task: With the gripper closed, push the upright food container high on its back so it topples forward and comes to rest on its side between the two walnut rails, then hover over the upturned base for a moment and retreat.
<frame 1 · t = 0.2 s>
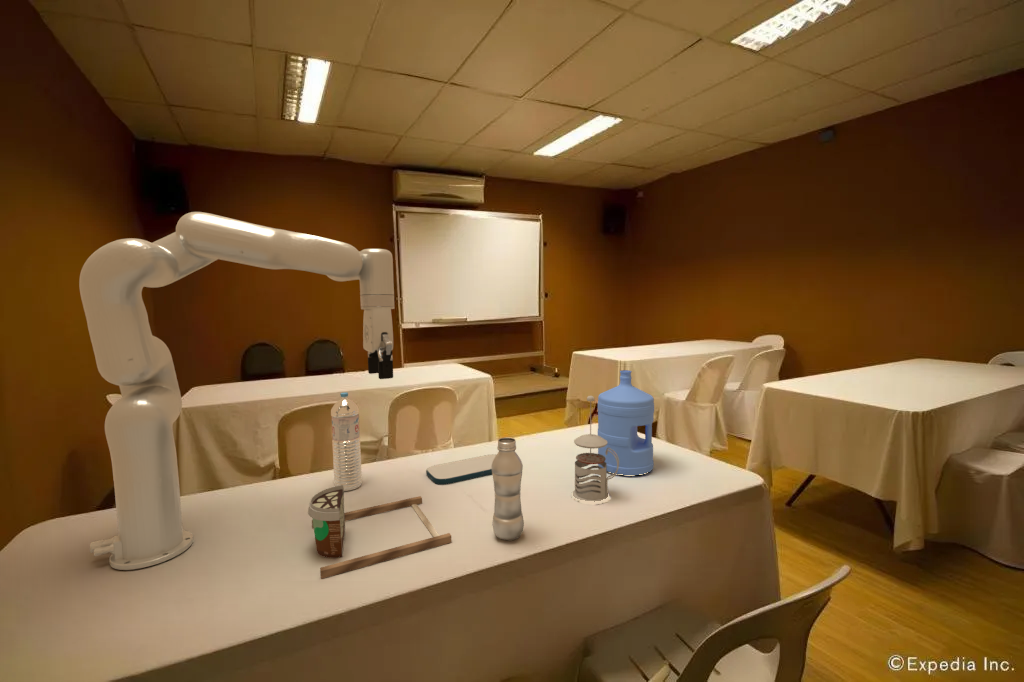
hand: (380, 375, 104), 31 cm above the table, tool pointing down, fingers open, 9 cm apart
wooden frame: (379, 533, 92), on the table
french press: (594, 497, 108), on the table
food container: (327, 548, 87), on the table
plastic bottle: (508, 536, 90), on the table
water bottle: (348, 487, 116), on the table
water jug: (625, 467, 127), on the table
external hard drive: (469, 473, 126), on the table
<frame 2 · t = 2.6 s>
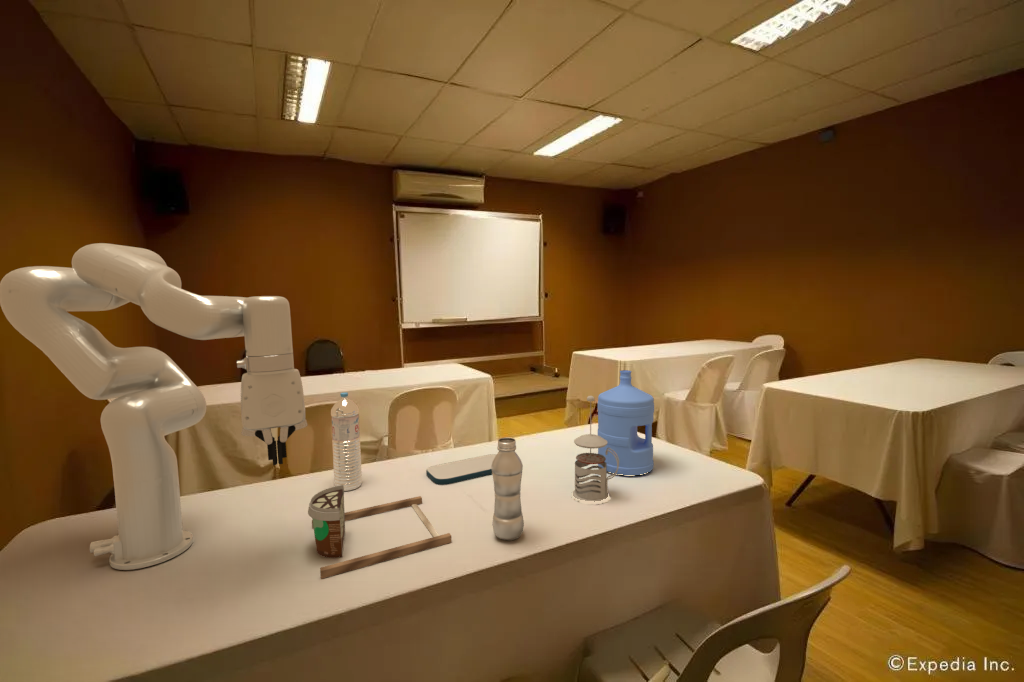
hand: (277, 462, 82), 19 cm above the table, tool pointing down, fingers closed
nothing on the table moved.
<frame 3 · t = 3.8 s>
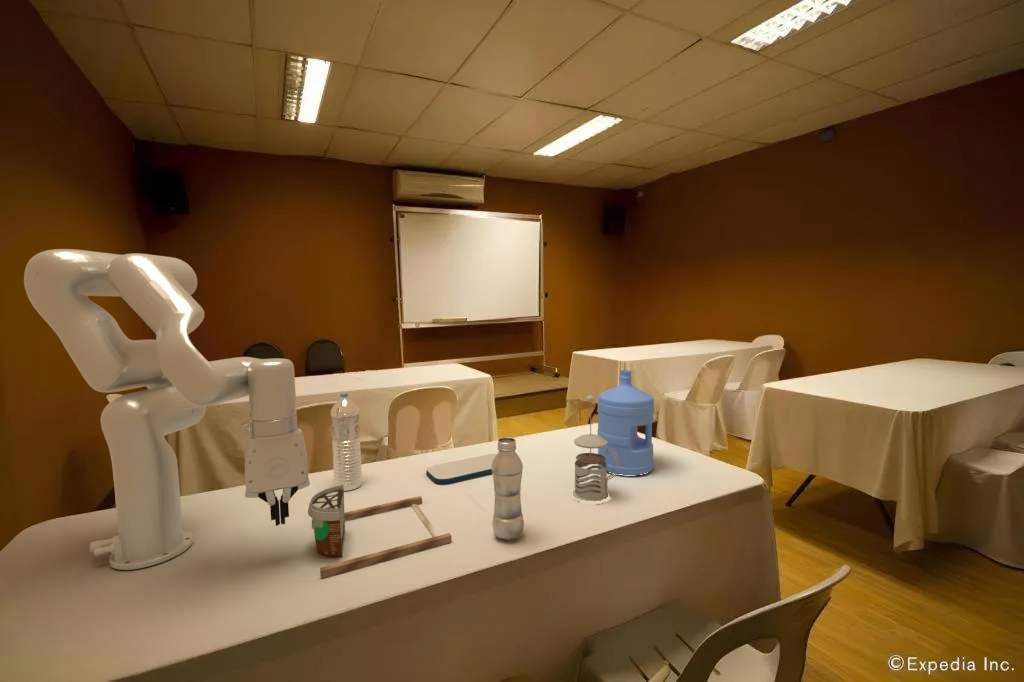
hand: (280, 521, 83), 7 cm above the table, tool pointing down, fingers closed
nothing on the table moved.
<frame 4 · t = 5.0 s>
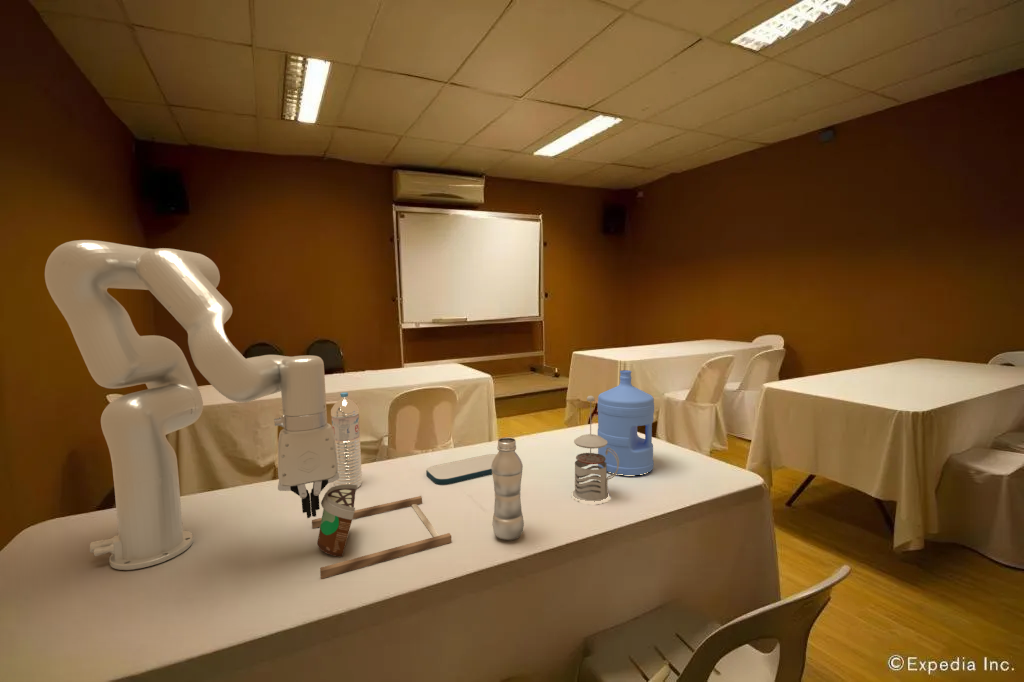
hand: (311, 514, 85), 7 cm above the table, tool pointing down, fingers closed
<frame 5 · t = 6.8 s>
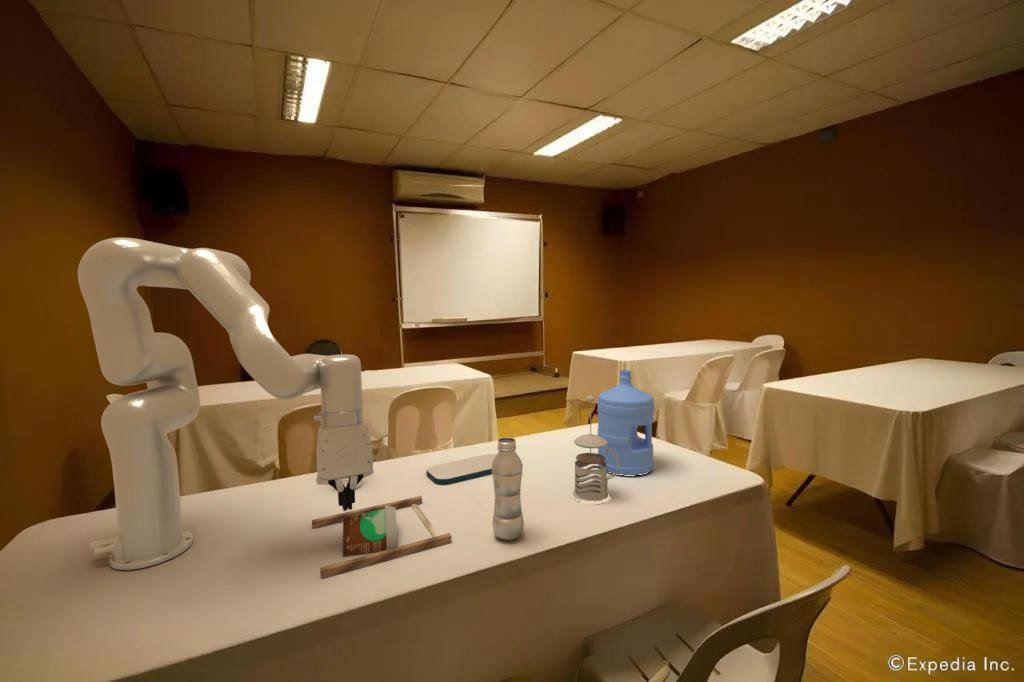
hand: (347, 507, 88), 7 cm above the table, tool pointing down, fingers closed
food container: (342, 529, 88), point 3 cm above the table
everything else where it was.
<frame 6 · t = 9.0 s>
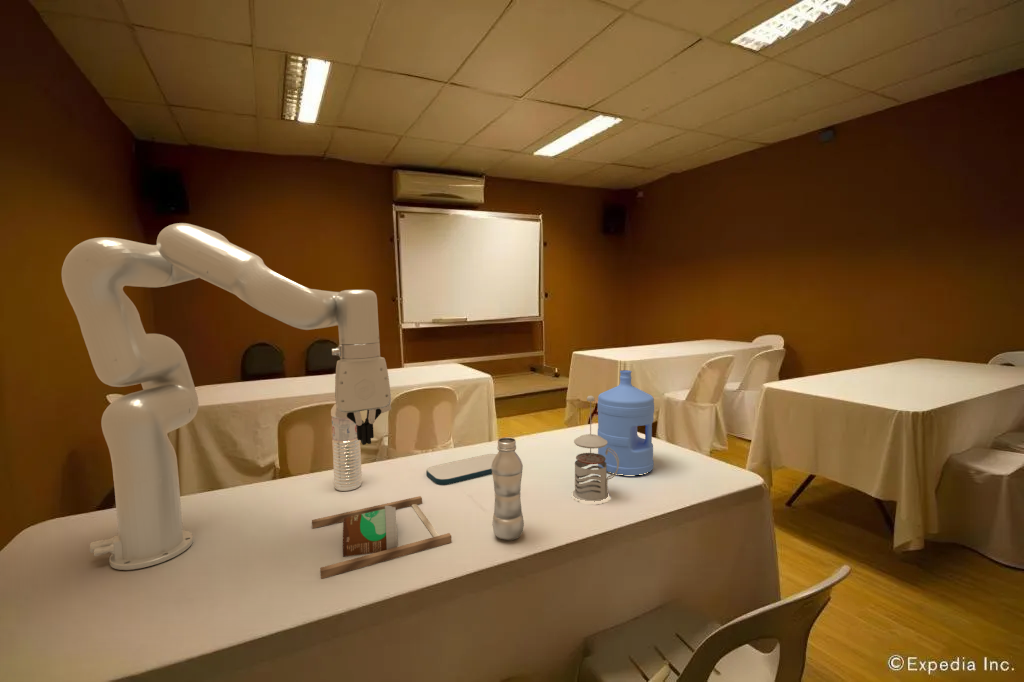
hand: (365, 442, 89), 20 cm above the table, tool pointing down, fingers closed
nothing on the table moved.
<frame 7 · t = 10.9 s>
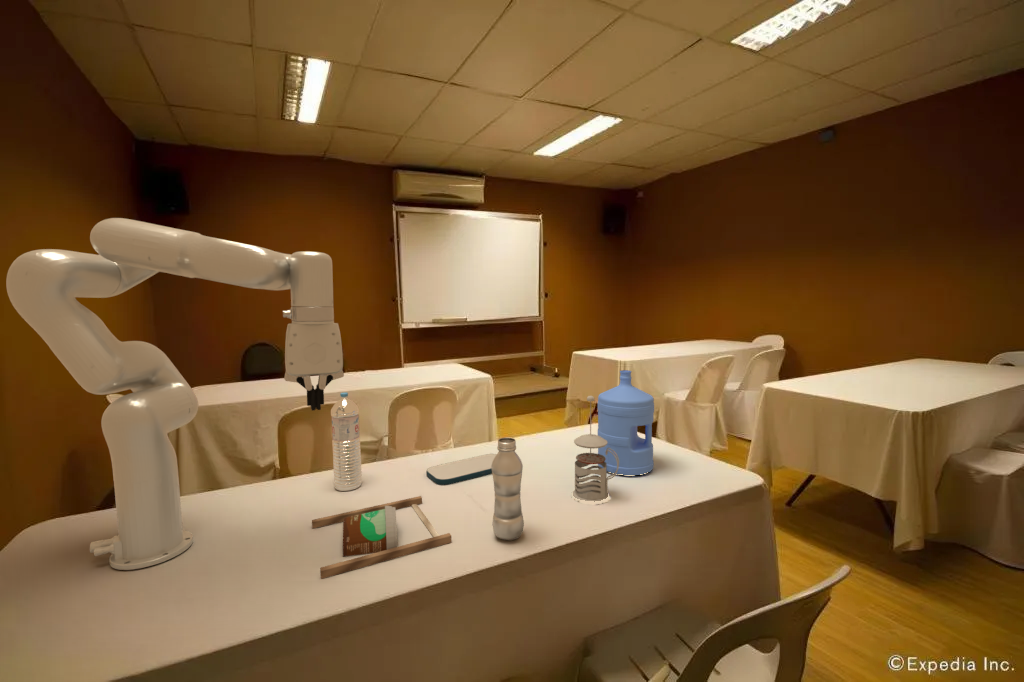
hand: (315, 408, 88), 27 cm above the table, tool pointing down, fingers closed
nothing on the table moved.
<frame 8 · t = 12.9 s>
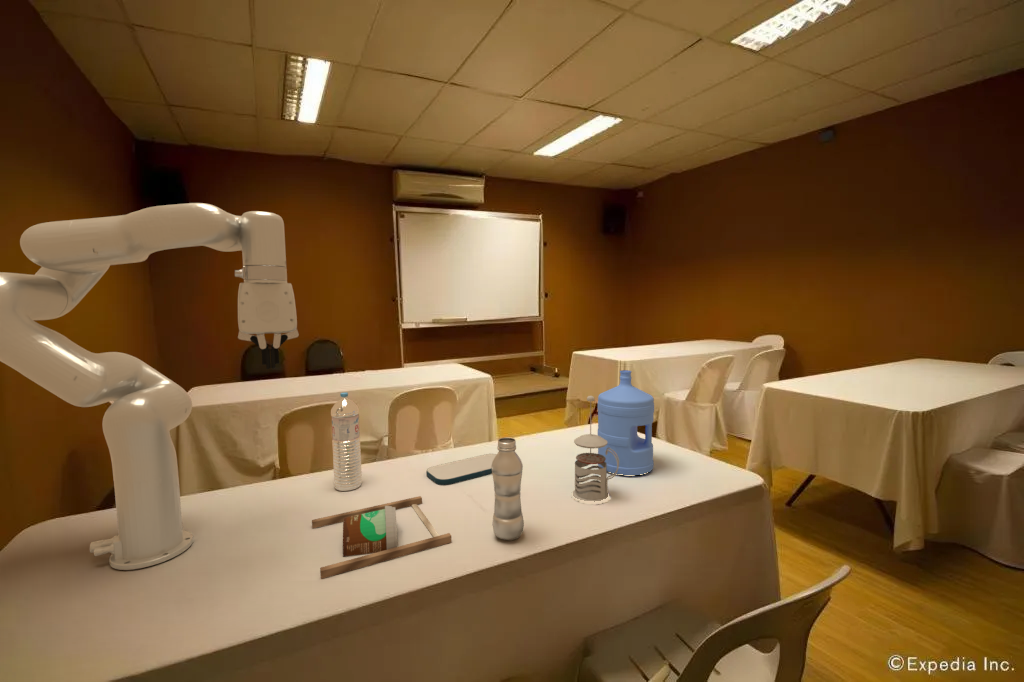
hand: (271, 367, 89), 35 cm above the table, tool pointing down, fingers closed
nothing on the table moved.
at the end: food container tilted 90°; food container inside the target area (4.0 cm from its centre), point 3.1 cm above the table; the gripper is holding nothing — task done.
